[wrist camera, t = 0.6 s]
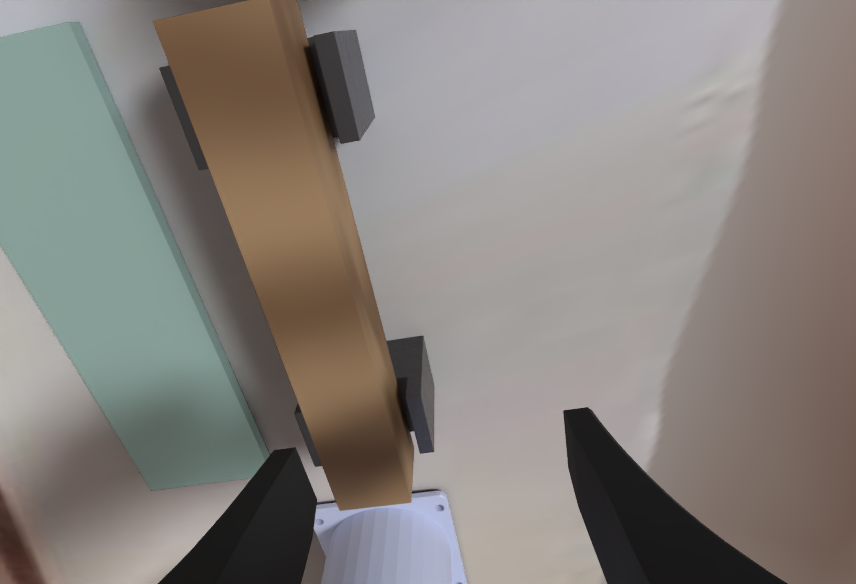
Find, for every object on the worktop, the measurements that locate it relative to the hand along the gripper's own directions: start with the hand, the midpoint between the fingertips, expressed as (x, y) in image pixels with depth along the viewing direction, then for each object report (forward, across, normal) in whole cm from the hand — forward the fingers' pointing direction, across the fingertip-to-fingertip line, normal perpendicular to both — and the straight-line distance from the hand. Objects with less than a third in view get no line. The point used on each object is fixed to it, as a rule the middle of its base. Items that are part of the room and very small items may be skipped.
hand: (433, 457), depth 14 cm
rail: (+7, +4, -2) cm, 8 cm away
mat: (+10, +14, -2) cm, 17 cm away
